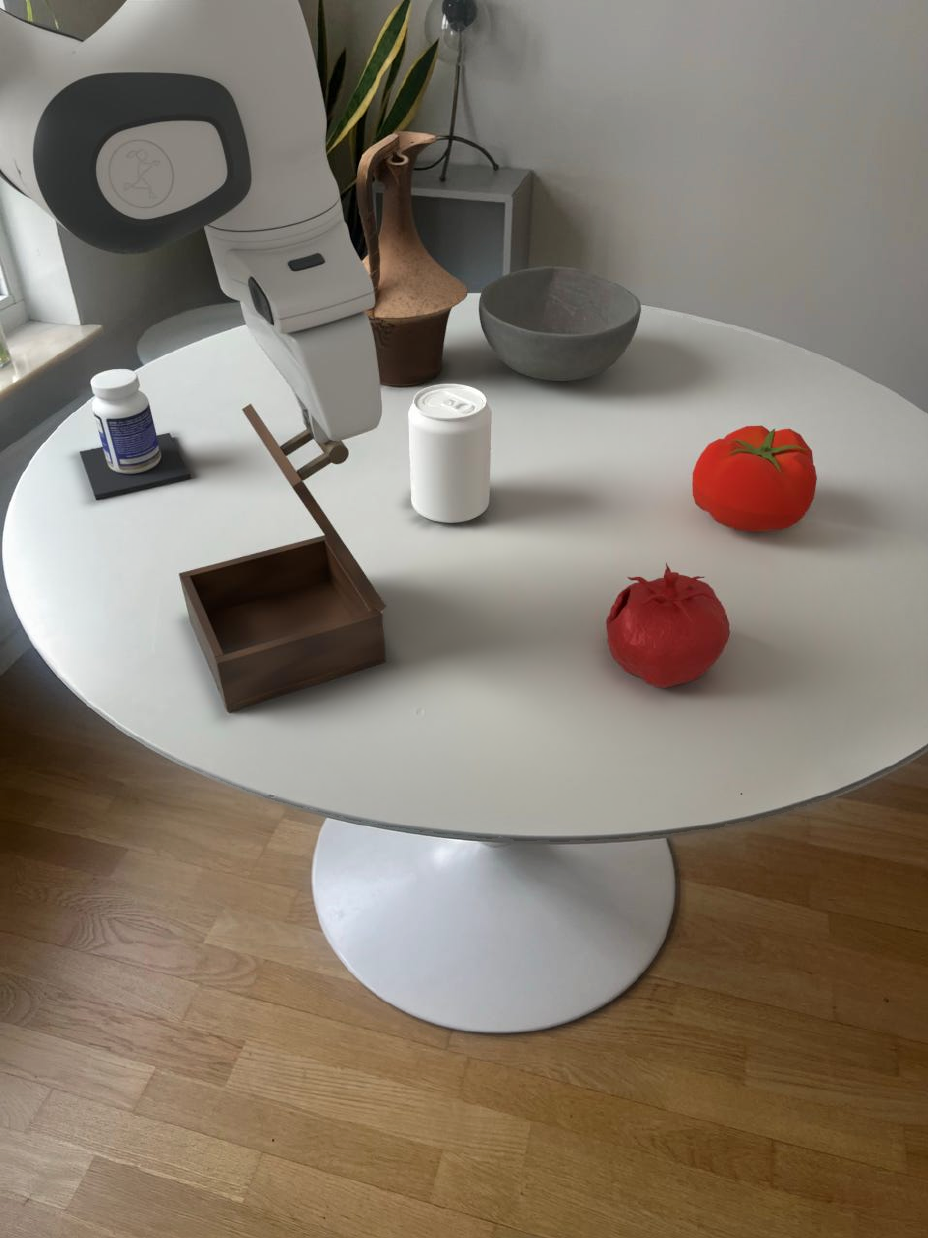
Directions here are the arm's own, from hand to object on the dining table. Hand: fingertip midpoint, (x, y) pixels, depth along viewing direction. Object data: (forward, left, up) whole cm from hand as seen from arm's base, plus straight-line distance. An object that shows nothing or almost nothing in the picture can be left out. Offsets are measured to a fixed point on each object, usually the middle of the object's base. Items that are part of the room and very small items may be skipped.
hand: (322, 433), depth 70 cm
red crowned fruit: (+23, -16, -19) cm, 34 cm away
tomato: (+44, -2, -19) cm, 48 cm away
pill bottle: (-11, +35, -19) cm, 41 cm away
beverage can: (+17, +13, -19) cm, 29 cm away
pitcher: (+25, +45, -19) cm, 55 cm away
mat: (-11, +35, -19) cm, 41 cm away
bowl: (+43, +36, -19) cm, 59 cm away
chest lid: (-2, 0, -7) cm, 7 cm away
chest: (-5, 0, -19) cm, 20 cm away
